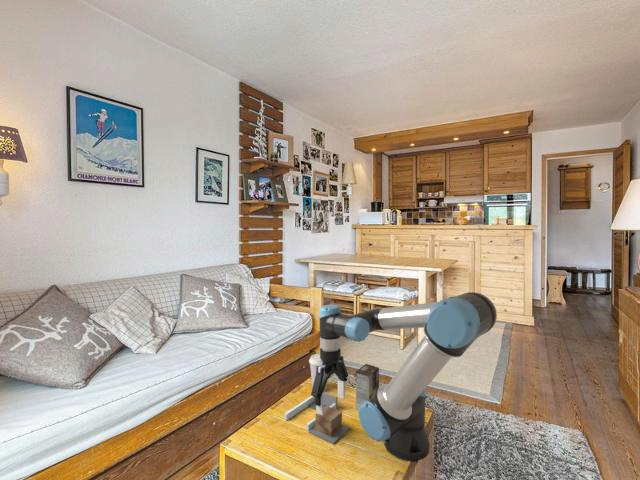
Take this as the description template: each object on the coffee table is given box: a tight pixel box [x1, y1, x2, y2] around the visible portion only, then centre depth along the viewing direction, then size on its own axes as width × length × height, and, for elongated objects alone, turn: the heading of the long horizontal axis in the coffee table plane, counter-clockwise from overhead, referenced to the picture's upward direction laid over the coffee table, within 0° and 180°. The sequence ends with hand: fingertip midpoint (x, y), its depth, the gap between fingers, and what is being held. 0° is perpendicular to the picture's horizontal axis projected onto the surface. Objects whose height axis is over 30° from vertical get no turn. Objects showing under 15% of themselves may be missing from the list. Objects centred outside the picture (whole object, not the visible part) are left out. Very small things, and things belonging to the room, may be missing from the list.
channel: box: [283, 391, 338, 432], centre depth 137 cm, size 12×19×5 cm, turn 143°
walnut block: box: [315, 406, 343, 437], centre depth 126 cm, size 7×7×6 cm
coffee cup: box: [308, 353, 328, 392], centre depth 158 cm, size 10×10×15 cm
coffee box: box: [355, 363, 380, 411], centre depth 143 cm, size 9×6×16 cm
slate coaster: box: [308, 423, 351, 445], centre depth 126 cm, size 11×11×1 cm
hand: (331, 405), depth 125 cm, fingers open, 13 cm apart
